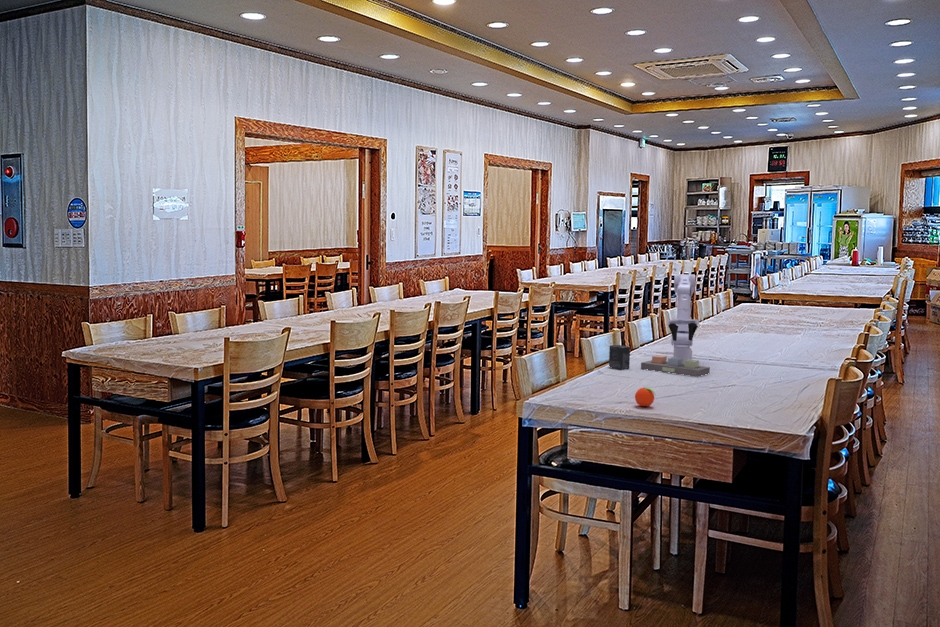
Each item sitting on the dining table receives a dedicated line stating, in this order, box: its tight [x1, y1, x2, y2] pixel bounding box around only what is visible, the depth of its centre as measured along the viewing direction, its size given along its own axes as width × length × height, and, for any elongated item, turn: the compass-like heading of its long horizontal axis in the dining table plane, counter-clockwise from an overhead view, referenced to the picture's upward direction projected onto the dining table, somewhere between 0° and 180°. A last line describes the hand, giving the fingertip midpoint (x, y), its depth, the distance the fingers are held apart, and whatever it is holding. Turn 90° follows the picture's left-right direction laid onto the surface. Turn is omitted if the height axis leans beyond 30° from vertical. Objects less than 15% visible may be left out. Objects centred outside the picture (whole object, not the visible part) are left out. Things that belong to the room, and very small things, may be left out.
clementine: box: [634, 386, 656, 407], centre depth 300 cm, size 8×7×7 cm
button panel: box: [640, 359, 711, 377], centre depth 377 cm, size 12×28×3 cm, turn 49°
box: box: [608, 344, 631, 371], centre depth 382 cm, size 8×6×11 cm
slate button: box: [667, 356, 683, 366], centre depth 377 cm, size 5×5×4 cm
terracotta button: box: [651, 354, 668, 364], centre depth 382 cm, size 5×5×4 cm
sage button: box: [684, 359, 700, 369], centre depth 372 cm, size 5×5×4 cm
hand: (682, 340), depth 371 cm, fingers open, 7 cm apart
